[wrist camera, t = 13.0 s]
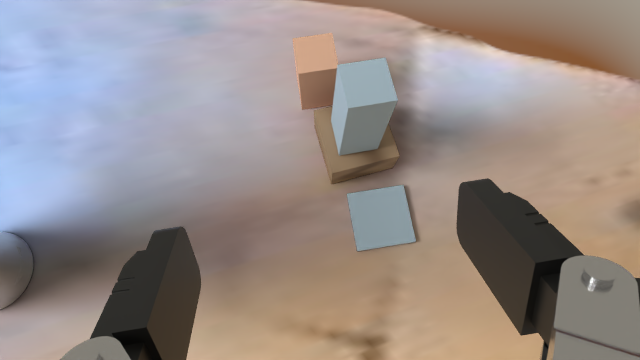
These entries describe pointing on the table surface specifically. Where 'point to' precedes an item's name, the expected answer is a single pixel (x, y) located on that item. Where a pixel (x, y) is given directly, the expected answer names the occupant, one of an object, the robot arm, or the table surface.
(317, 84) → the terracotta block
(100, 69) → the table surface
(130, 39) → the table surface
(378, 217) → the swatch tile
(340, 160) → the base block
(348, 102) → the blue block
